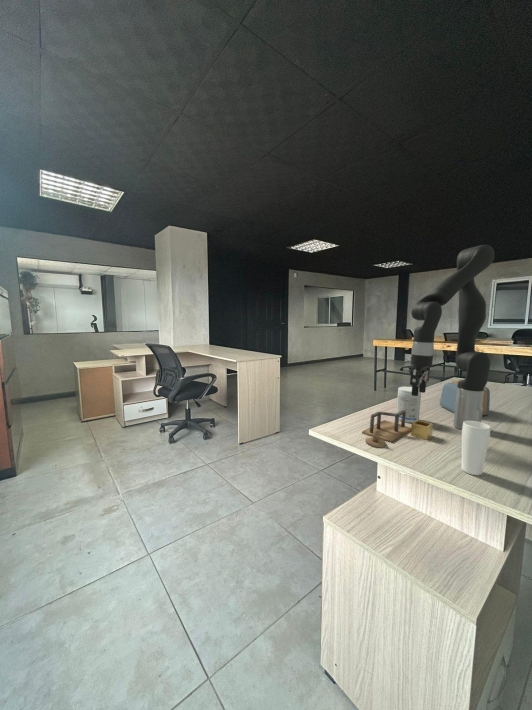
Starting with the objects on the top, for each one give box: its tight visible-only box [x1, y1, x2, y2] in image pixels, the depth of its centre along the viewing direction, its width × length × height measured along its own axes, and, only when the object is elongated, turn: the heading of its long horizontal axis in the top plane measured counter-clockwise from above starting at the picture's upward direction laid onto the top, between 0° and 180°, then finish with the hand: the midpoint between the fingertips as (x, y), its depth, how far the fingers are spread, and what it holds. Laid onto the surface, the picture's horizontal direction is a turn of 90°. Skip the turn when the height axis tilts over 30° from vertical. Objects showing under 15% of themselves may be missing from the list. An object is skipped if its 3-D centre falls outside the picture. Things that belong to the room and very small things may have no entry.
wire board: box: [361, 410, 411, 444], centre depth 116 cm, size 12×20×8 cm, turn 133°
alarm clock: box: [439, 379, 491, 416], centre depth 145 cm, size 16×16×16 cm
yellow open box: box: [410, 419, 434, 441], centre depth 113 cm, size 6×6×5 cm
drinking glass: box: [460, 421, 492, 476], centre depth 85 cm, size 7×7×15 cm
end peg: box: [365, 430, 387, 448], centre depth 105 cm, size 7×7×5 cm
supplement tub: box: [396, 386, 422, 424], centre depth 130 cm, size 10×10×15 cm
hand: (418, 394), depth 113 cm, fingers open, 8 cm apart
